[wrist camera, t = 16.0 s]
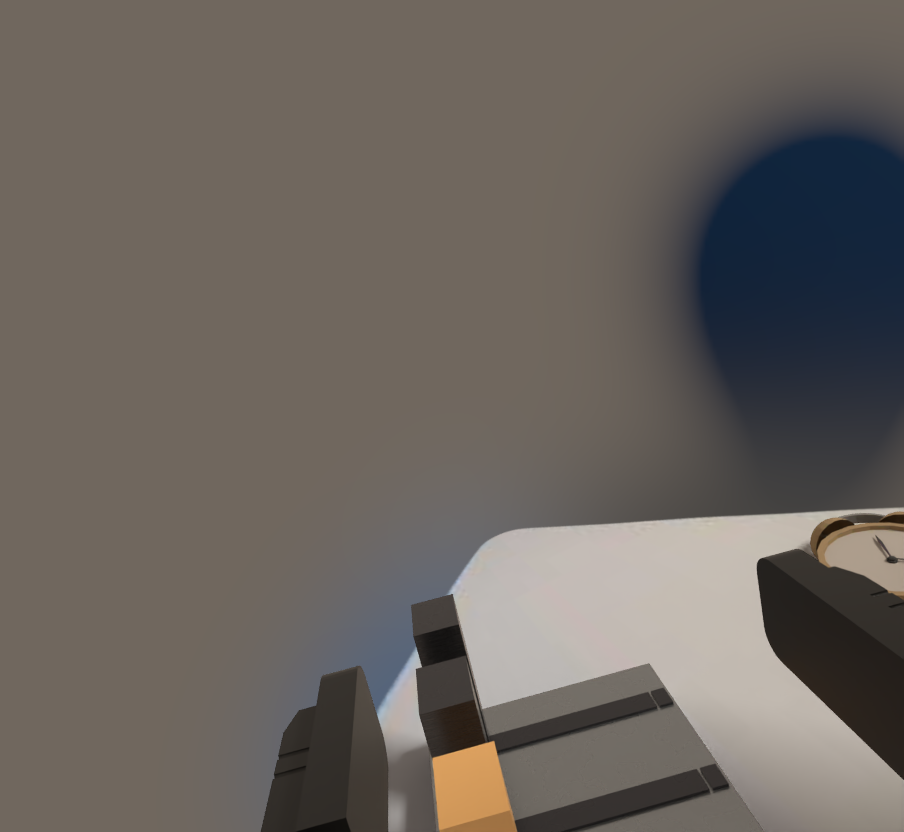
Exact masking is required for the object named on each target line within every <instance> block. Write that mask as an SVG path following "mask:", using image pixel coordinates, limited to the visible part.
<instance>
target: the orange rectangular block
mask: <svg viewBox="0 0 904 832" xmlns="http://www.w3.org/2000/svg"><path fill="white" fill-rule="evenodd" d="M432 759H433V770H434V780H435V791H436V802H437V812H438V823H439V831H440V832H517V829H516V825H515V821H514V817H513V813H512V809H511V805H510V801H509V798H508V794H507V790H506V786H505V782H504V778H503V774H502V770H501V766H500V763H499V759H498V755H497V751H496V747H495V743H494V741H492V742H489V743H485V744H481V745H478V746H474V747H471V748H467V749H463V750H460V751H456V752H453V753H449V754H445V755H442V756H438V757H435V758H432Z"/></svg>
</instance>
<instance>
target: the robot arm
mask: <svg viewBox="0 0 904 832" xmlns="http://www.w3.org/2000/svg"><path fill="white" fill-rule="evenodd" d="M757 576H758V583H759V591H760V598H761V606H762V613H763V621H764V628H765V632H766V636H767V639H768V641H769V643H770V645H771V647H772V649H773V651H774V653H775V654H776V656H777V657H778V658H779V659H780V661H781V662H782V663H783V664H784V665H785V666H786V667H788V668H789V669H790V670H791V671H792V672H793V673H794V674H795V675H796V676H797V677H798V678H799V679H800V680H801V681H802V682H803V683H804V684H805V685H806V686H807V687H808V688H809V689H810V690H811V691H812V692H813V693H814V694H815V695H816V696H817V697H819V698H820V699H821V700H822V701H823V702H824V703H825V704H826V705H827V706H828V707H829V708H830V709H831V710H832V711H833V712H834V713H835V714H836V715H837V716H838V717H839V718H840V719H841V720H842V721H843V722H844V723H845V724H846V725H847V726H849V727H850V728H851V729H852V730H853V731H854V732H855V733H856V734H857V735H858V736H859V737H860V738H861V739H862V740H863V741H864V742H865V743H866V744H867V745H868V746H869V747H870V748H871V749H872V750H873V751H874V752H875V753H876V754H877V755H878V756H880V757H881V758H882V759H883V760H884V761H885V762H886V763H887V764H888V765H889V766H890V767H891V768H892V769H893V770H894V771H895V772H896V773H897V774H898V775H899V776H900V777H901V778H902V779H903V780H904V600H903V599H901V598H900V597H898V596H897V595H895V594H893V593H888V591H887V589H885V588H884V587H882V586H880V585H879V584H877V583H876V582H874V581H872V580H871V579H869V578H867V577H866V576H864V575H861V574H858V573H855V572H852V571H848V570H845V569H842V568H839V567H836V566H833V567H829V568H828V567H827V566H825V565H824V564H822V563H821V562H819V561H818V560H816V559H815V558H813V557H811V556H810V555H808V554H807V553H805V552H804V551H802V550H799V549H794V550H791V551H787V552H783V553H779V554H776V555H772V556H768V557H765V558H761V559H760V560H759V561H758V563H757ZM278 756H279V760H277V764H276V768H275V772H274V776H275V779H273V781H272V786H271V790H270V795H269V798H268V803H267V807H266V811H265V816H264V820H263V825H262V829H261V832H388V761H387V753H386V747H385V742H384V737H383V733H382V730H381V727H380V723H379V720H378V717H377V713H376V710H375V707H374V704H373V700H372V697H371V694H370V691H369V687H368V684H367V681H366V677H365V674H364V672H363V670H362V668H361V666H356V667H353V668H349V669H345V670H342V671H338V672H334V673H331V674H326V675H323V676H322V678H321V682H320V687H319V693H318V700H317V705H316V706H313V707H310V708H306V709H303V710H299V711H298V713H297V714H296V715H295V717H294V718H293V720H292V722H291V723H290V724H289V726H288V727H287V729H286V730H285V732H284V733H283V738H282V742H281V746H280V751H279V755H278Z"/></svg>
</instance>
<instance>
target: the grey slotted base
mask: <svg viewBox="0 0 904 832" xmlns="http://www.w3.org/2000/svg"><path fill="white" fill-rule="evenodd" d="M411 608H412V622H413V636H414V640H415V643H416V647H417V651H418V654H419V658H420V661H421V665H422V668H418V669H416V677H417V691H418V704H419V716H420V719H421V723H422V726H423V730H424V733H425V737H426V740H427V744H428V747H429V757H430V768H431V780H432V791H433V802H434V814H435V825H436V832H440V831H439V823H438V812H437V802H436V791H435V780H434V770H433V759H432V758H435V757H438V756H442V755H445V754H449V753H453V752H456V751H460V750H463V749H467V748H471V747H474V746H478V745H481V744H485V743H489V742H492V741H494V743H495V747H496V751H497V755H498V759H499V763H500V766H501V770H502V774H503V778H504V782H505V786H506V790H507V794H508V798H509V801H510V805H511V809H512V813H513V817H514V821H515V825H516V829H517V832H764V831H763V829H762V828H761V826H760V825H759V824H758V822H757V821H756V819H755V818H754V816H753V815H752V813H751V812H750V810H749V809H748V807H747V806H746V805H745V803H744V802H743V800H742V799H741V797H740V796H739V794H738V793H737V791H736V790H735V788H734V787H733V786H732V784H731V783H730V781H729V780H728V778H727V777H726V775H725V774H724V772H723V771H722V769H721V768H720V766H719V765H718V764H717V762H716V761H715V759H714V758H713V756H712V755H711V753H710V752H709V750H708V749H707V747H706V746H705V745H704V743H703V742H702V740H701V739H700V737H699V736H698V734H697V733H696V731H695V730H694V728H693V727H692V725H691V724H690V723H689V721H688V720H687V718H686V717H685V715H684V714H683V712H682V711H681V709H680V708H679V706H678V705H677V704H676V702H675V701H674V699H673V698H672V696H671V695H670V693H669V692H668V690H667V689H666V687H665V686H664V685H663V683H662V682H661V680H660V679H659V677H658V676H657V674H656V673H655V671H654V670H653V668H652V667H651V665H650V664H645V665H641V666H638V667H634V668H631V669H627V670H623V671H620V672H616V673H612V674H609V675H605V676H601V677H598V678H594V679H591V680H587V681H583V682H580V683H576V684H572V685H569V686H565V687H562V688H558V689H554V690H551V691H547V692H543V693H540V694H536V695H533V696H529V697H525V698H522V699H518V700H514V701H511V702H507V703H503V704H500V705H496V706H493V707H489V708H485V709H482V706H481V702H480V698H479V694H478V690H477V687H476V683H475V679H474V675H473V671H472V667H471V663H470V659H469V656H468V652H467V648H466V644H465V640H464V636H463V632H462V628H461V625H460V621H459V617H458V613H457V609H456V605H455V601H454V597H453V594H451V595H447V596H444V597H440V598H436V599H432V600H428V601H425V602H421V603H417V604H414V605H411Z"/></svg>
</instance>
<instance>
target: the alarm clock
mask: <svg viewBox="0 0 904 832" xmlns="http://www.w3.org/2000/svg"><path fill="white" fill-rule="evenodd" d="M853 523H865V524H859V525H854V524H853ZM810 545H811V549H812V552H813V553H814V555H815V556H816V557H817V558H818V560H819V562H821V563H822V564H824V565H825V566H827V567H828V568H829V567H833V566H836V567H839V568H842V569H845V570H848V571H852V572H855V573H858V574H861V575H864V576H866V577H867V578H869V579H871V580H872V581H874V582H876V583H877V584H879V585H880V586H882V587H884V588H885V589H887V591H888V593H893V594H895V595H897V596H898V597H900V598H901V599H903V600H904V512H894V513H891V514H888V515H886V516H885V515H880V514H871V513H859V514H850V515H845V516H841V517H838V518H830V519H827V520H825V521H823V522H821V523H820V524H819V525H818V526H817V527H816V528H815V529H814V531H813V533H812V536H811V542H810Z"/></svg>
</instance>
